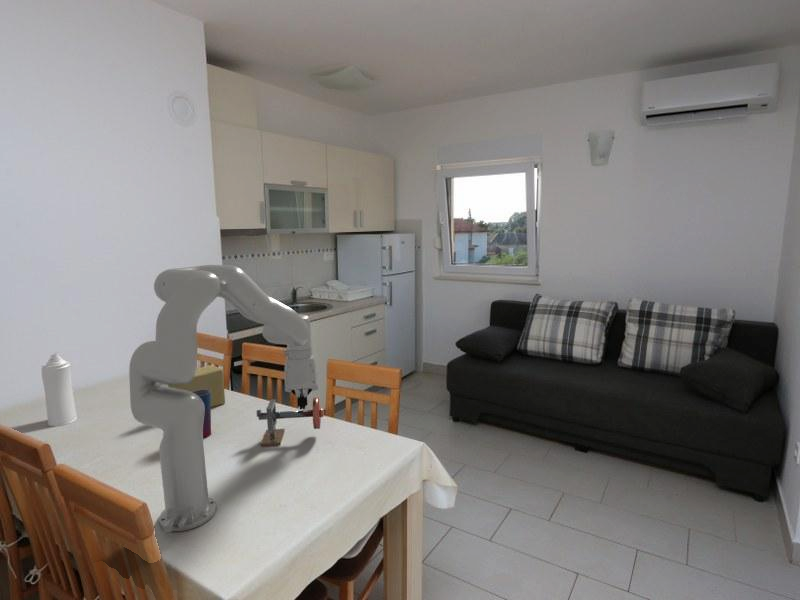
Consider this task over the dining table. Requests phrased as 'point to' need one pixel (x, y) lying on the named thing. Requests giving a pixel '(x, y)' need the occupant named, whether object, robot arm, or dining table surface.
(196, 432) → the robot arm
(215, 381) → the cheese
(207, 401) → the cup
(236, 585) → the dining table surface
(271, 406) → the eye post
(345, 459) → the dining table surface
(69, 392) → the spray can
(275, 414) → the copper disc on rod
